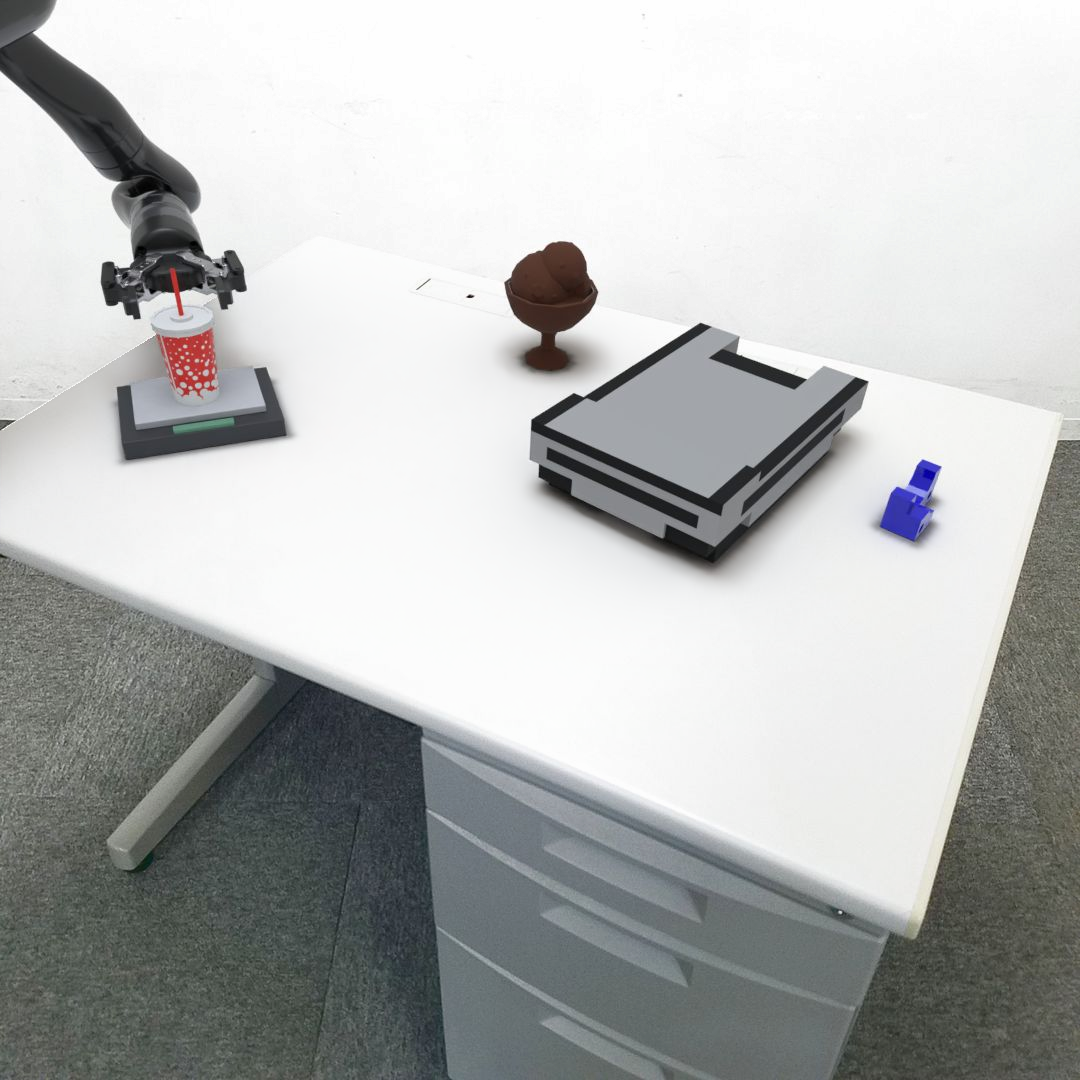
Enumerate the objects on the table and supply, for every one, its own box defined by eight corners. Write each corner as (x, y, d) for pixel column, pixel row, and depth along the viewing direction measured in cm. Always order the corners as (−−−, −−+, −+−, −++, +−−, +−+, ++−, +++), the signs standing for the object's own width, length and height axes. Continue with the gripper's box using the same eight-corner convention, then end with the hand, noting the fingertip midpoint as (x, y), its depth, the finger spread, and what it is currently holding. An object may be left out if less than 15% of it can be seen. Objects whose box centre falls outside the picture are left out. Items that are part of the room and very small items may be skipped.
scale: (126, 460, 97) (119, 436, 95) (120, 402, 106) (114, 379, 104) (286, 435, 102) (283, 412, 100) (268, 382, 111) (265, 360, 109)
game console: (852, 437, 107) (871, 371, 102) (708, 578, 87) (723, 504, 81) (692, 375, 116) (702, 312, 111) (528, 490, 96) (531, 419, 91)
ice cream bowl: (580, 337, 123) (589, 221, 114) (599, 379, 115) (610, 258, 105) (498, 340, 122) (500, 223, 112) (511, 383, 113) (514, 260, 104)
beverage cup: (239, 394, 103) (218, 268, 94) (190, 416, 99) (164, 287, 90) (203, 375, 106) (179, 251, 97) (155, 395, 102) (125, 269, 93)
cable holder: (914, 541, 92) (926, 507, 90) (879, 526, 94) (890, 493, 92) (944, 505, 97) (956, 472, 95) (911, 491, 99) (922, 459, 97)
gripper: (91, 219, 104) (95, 278, 93) (226, 208, 109) (247, 263, 97) (107, 284, 109) (113, 348, 97) (236, 271, 114) (257, 331, 102)
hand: (180, 305), depth 97 cm, fingers open, 8 cm apart
